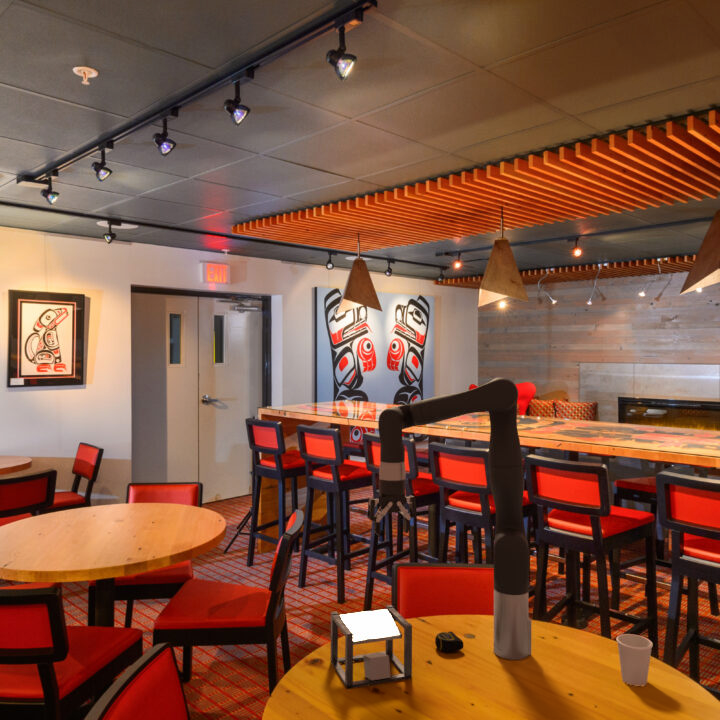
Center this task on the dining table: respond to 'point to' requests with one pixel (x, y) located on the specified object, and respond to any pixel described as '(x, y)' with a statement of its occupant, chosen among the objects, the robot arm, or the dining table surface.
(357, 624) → the trapdoor
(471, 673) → the dining table surface
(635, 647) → the dixie cup
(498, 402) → the robot arm
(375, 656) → the gray cube
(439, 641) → the tape measure
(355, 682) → the frame
